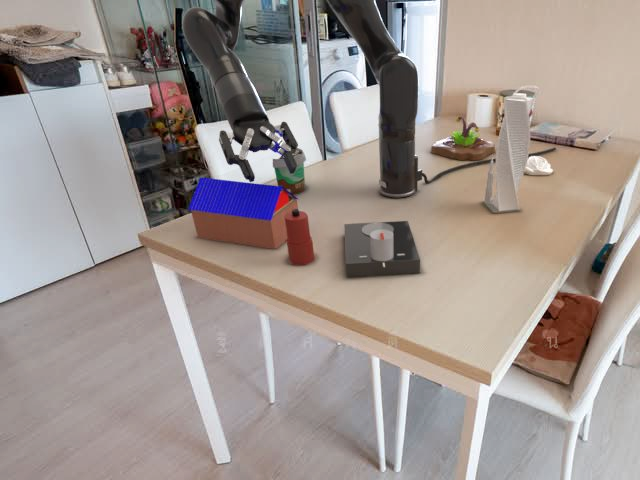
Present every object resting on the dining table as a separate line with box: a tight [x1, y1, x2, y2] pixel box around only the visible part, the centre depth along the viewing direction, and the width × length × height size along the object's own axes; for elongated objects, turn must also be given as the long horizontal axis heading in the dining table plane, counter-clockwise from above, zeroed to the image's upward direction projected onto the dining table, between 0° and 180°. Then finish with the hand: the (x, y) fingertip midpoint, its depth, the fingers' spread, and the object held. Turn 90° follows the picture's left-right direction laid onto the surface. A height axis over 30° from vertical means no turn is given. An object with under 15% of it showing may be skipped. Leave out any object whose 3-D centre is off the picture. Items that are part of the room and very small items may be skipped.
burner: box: [362, 222, 394, 236], centre depth 97 cm, size 7×7×1 cm
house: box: [187, 177, 299, 250], centre depth 100 cm, size 12×20×12 cm, turn 73°
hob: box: [343, 220, 421, 279], centre depth 93 cm, size 20×14×3 cm
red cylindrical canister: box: [284, 208, 315, 266], centre depth 90 cm, size 5×5×10 cm
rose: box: [524, 155, 554, 176], centre depth 138 cm, size 10×4×10 cm
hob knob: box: [370, 229, 394, 261], centre depth 86 cm, size 4×4×5 cm
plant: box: [430, 116, 496, 162], centre depth 154 cm, size 20×20×11 cm
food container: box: [272, 147, 307, 196], centre depth 123 cm, size 12×6×10 cm, turn 168°
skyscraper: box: [482, 84, 540, 215], centre depth 107 cm, size 8×8×28 cm
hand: (273, 175), depth 90 cm, fingers open, 8 cm apart
